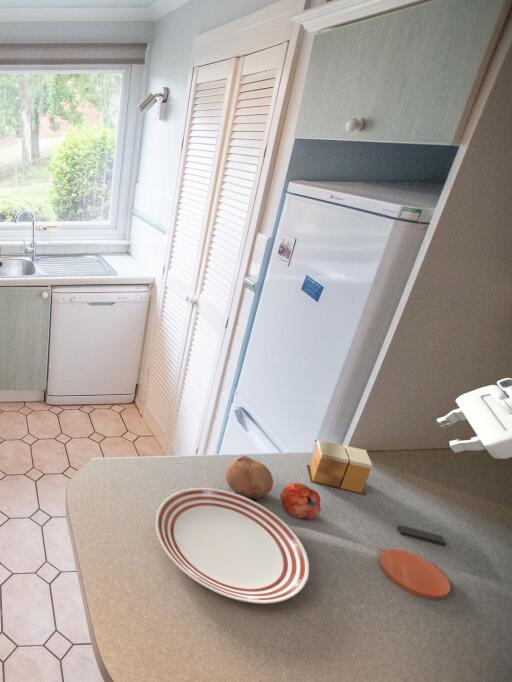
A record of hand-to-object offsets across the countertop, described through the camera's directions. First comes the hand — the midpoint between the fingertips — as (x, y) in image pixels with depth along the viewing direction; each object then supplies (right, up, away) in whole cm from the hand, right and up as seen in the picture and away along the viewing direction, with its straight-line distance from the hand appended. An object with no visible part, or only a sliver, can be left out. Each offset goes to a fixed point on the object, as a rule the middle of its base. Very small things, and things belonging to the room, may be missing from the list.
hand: (444, 435), depth 94 cm
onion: (-36, -16, +11) cm, 41 cm away
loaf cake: (-13, -14, +14) cm, 24 cm away
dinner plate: (-47, -22, -3) cm, 52 cm away
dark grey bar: (-13, -20, +1) cm, 24 cm away
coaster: (-15, -24, -9) cm, 30 cm away
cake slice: (-10, -14, +13) cm, 21 cm away
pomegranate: (-28, -18, +5) cm, 33 cm away
